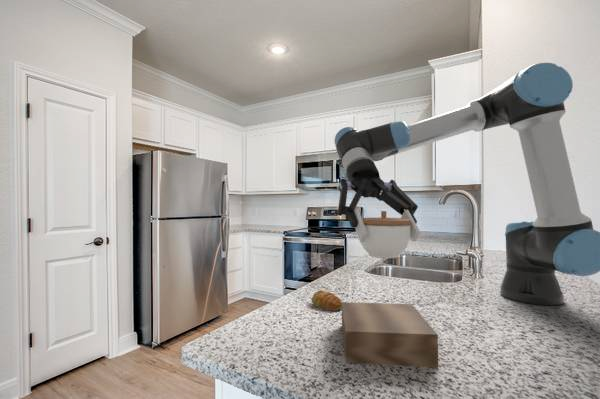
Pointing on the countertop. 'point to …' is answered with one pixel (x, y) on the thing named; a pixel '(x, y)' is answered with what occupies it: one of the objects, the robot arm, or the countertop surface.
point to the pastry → (326, 301)
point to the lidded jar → (386, 236)
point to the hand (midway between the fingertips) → (390, 237)
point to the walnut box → (388, 335)
